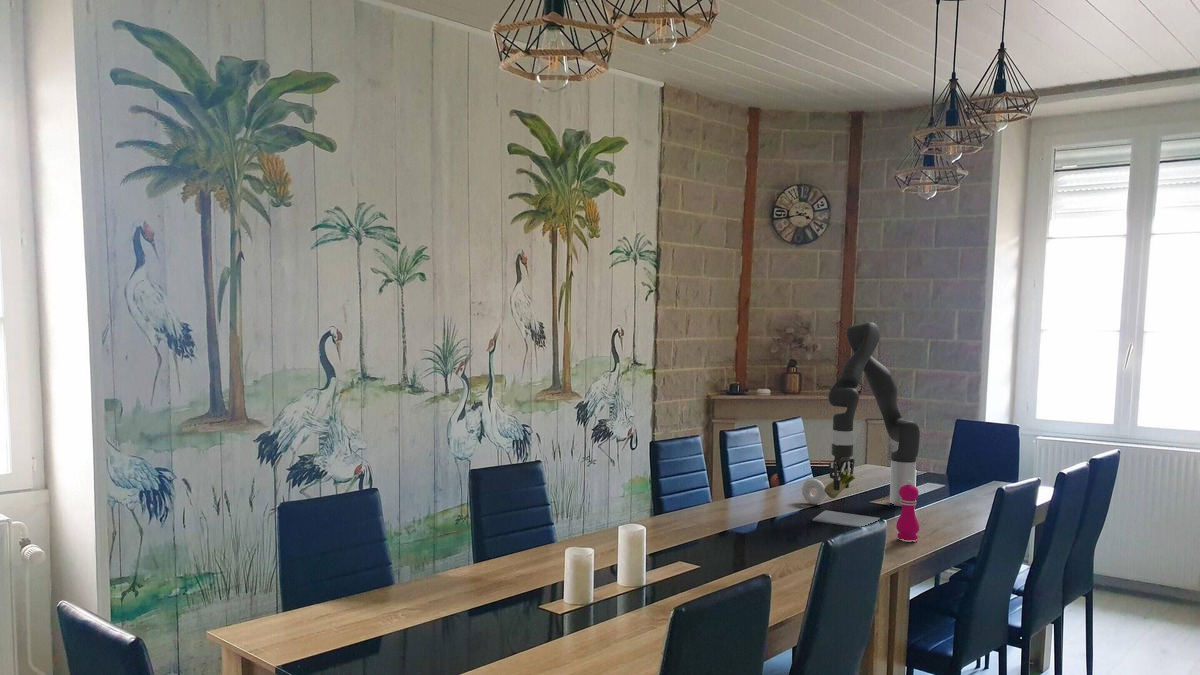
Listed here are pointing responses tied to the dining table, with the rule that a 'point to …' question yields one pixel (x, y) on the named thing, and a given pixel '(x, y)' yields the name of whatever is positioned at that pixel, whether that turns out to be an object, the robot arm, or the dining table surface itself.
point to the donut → (820, 491)
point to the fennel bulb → (843, 483)
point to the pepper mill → (908, 513)
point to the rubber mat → (844, 519)
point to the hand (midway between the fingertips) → (841, 488)
